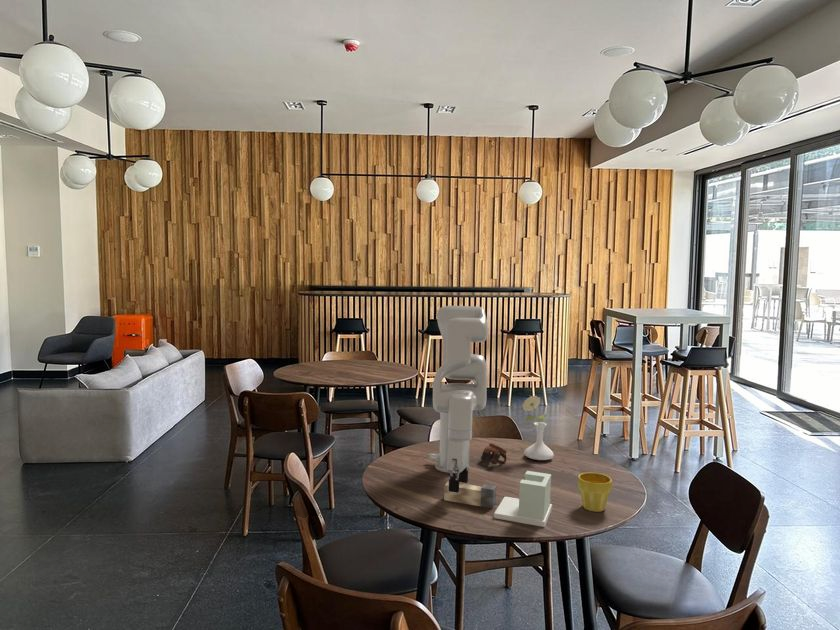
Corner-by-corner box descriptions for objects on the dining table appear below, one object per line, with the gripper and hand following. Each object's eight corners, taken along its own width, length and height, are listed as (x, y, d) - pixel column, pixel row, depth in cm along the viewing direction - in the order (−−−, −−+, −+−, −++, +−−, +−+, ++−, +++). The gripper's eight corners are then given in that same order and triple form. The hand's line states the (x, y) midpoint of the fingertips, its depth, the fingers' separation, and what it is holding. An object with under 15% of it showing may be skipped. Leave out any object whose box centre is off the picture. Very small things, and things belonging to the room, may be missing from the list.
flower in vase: (549, 453, 242) (552, 392, 239) (556, 463, 230) (559, 399, 228) (517, 453, 241) (519, 392, 239) (523, 462, 230) (525, 398, 228)
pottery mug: (476, 460, 233) (485, 440, 235) (497, 471, 233) (506, 451, 235) (482, 462, 221) (492, 442, 223) (505, 474, 222) (514, 453, 223)
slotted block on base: (494, 518, 179) (495, 480, 178) (504, 501, 192) (505, 466, 191) (544, 527, 174) (546, 488, 173) (551, 508, 187) (553, 473, 186)
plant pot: (569, 503, 191) (571, 474, 191) (595, 499, 196) (597, 470, 195) (591, 516, 182) (592, 485, 181) (617, 511, 186) (619, 481, 185)
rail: (444, 500, 192) (444, 481, 191) (447, 496, 195) (448, 478, 195) (492, 508, 186) (493, 489, 186) (495, 504, 190) (496, 485, 189)
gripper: (456, 426, 199) (455, 477, 200) (439, 438, 183) (438, 493, 184) (478, 429, 197) (477, 480, 198) (463, 441, 180) (461, 497, 181)
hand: (458, 486), depth 191 cm, fingers open, 9 cm apart
